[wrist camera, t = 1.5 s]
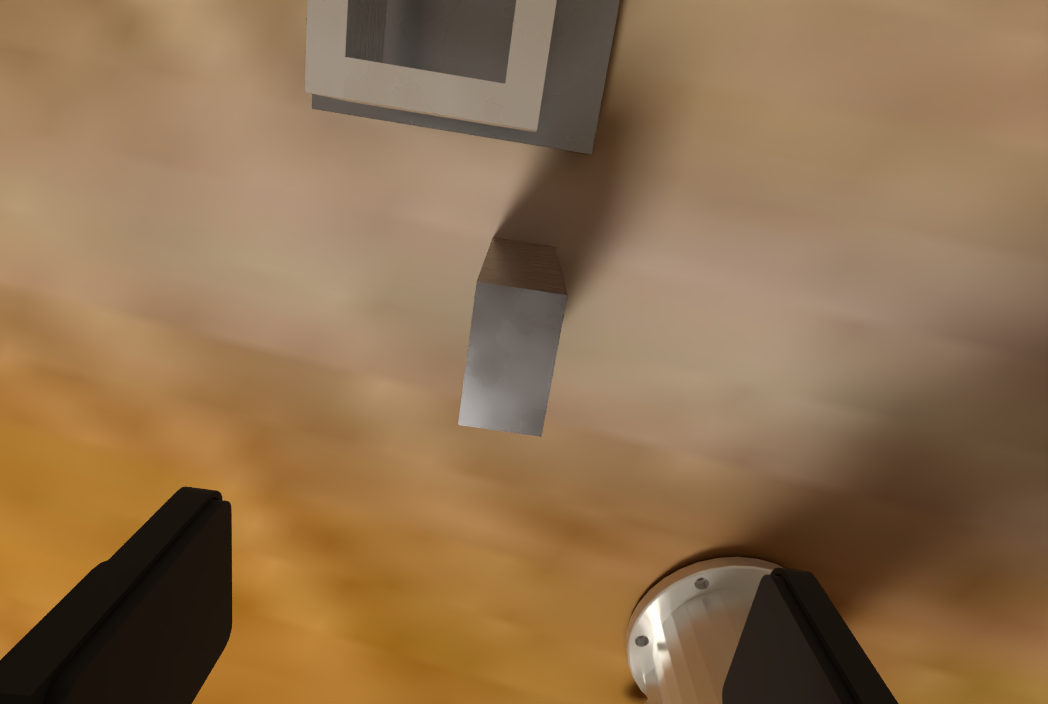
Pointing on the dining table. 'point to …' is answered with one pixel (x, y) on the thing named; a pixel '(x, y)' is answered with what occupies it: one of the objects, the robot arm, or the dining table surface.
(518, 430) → the grey block
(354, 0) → the grey boxy fixture
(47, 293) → the dining table surface
